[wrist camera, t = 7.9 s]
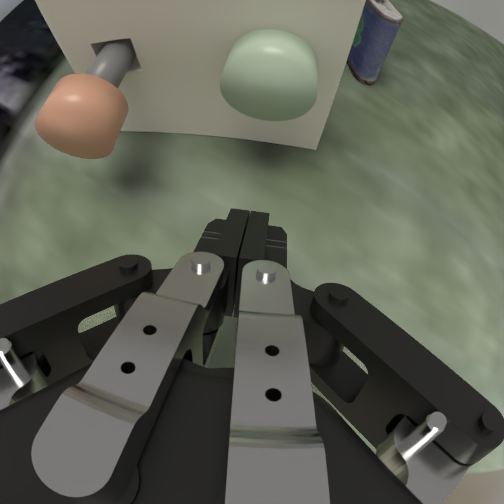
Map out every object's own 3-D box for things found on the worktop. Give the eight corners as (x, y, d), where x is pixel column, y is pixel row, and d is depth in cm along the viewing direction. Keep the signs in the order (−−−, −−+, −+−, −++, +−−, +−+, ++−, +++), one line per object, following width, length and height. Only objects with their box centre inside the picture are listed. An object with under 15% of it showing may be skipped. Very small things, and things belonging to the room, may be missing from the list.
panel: (105, 132, 24) (19, -12, 8) (122, 97, 25) (59, -43, 9) (322, 153, 23) (389, -37, 7) (323, 113, 24) (374, -59, 8)
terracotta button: (61, 158, 16) (20, 114, 11) (108, 65, 18) (87, 18, 13) (125, 160, 16) (90, 106, 11) (168, 61, 18) (154, 7, 13)
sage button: (223, 115, 17) (215, 52, 12) (246, 36, 19) (246, -18, 14) (308, 127, 17) (325, 65, 12) (313, 44, 19) (324, -8, 14)
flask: (378, 87, 26) (414, 7, 15) (351, 83, 26) (381, -3, 15) (359, 36, 28) (380, -33, 18) (335, 32, 28) (353, -40, 18)
